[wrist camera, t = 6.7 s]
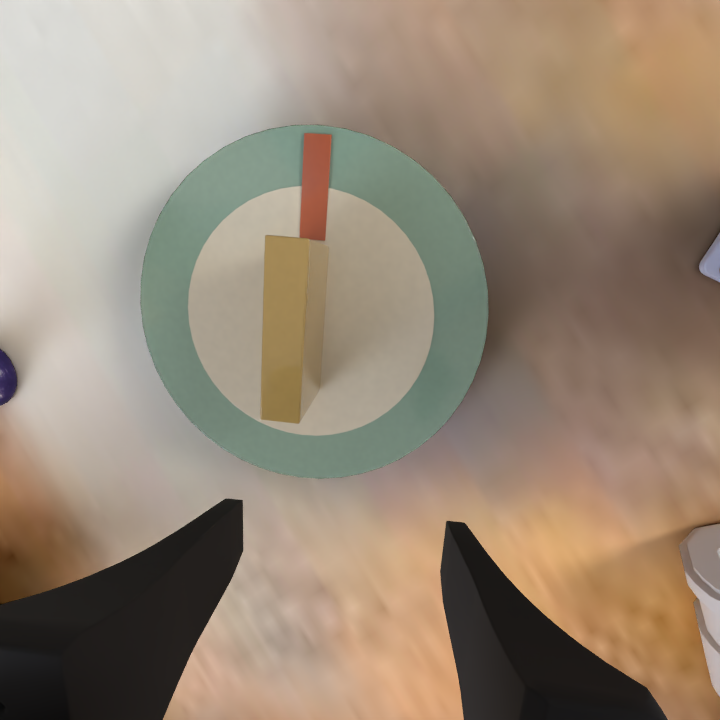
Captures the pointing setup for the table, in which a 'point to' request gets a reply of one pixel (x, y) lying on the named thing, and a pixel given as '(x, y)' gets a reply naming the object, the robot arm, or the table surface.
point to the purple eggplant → (6, 378)
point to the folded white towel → (705, 590)
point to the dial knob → (314, 301)
